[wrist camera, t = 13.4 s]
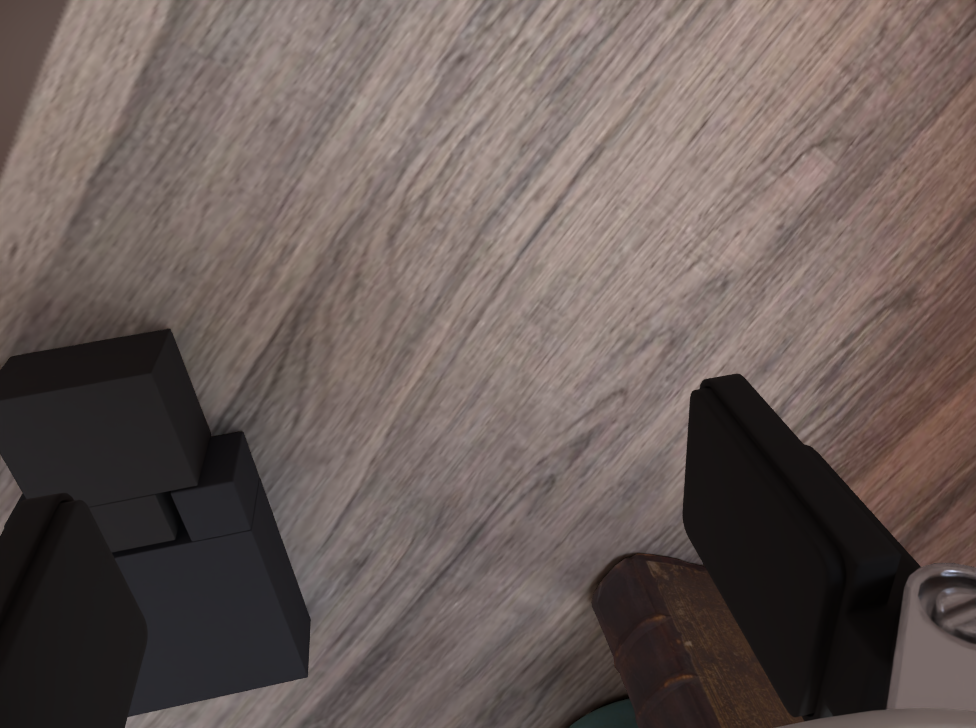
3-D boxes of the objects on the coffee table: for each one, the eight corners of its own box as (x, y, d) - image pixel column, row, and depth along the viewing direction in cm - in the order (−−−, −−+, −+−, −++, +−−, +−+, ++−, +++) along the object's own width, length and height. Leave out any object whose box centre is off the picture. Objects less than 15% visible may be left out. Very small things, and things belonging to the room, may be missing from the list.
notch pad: (35, 470, 36) (2, 526, 32) (243, 430, 37) (232, 481, 33) (138, 656, 43) (121, 718, 39) (310, 619, 44) (308, 677, 40)
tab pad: (10, 356, 33) (-29, 405, 29) (170, 328, 33) (150, 372, 30) (88, 505, 37) (62, 562, 34) (228, 478, 38) (217, 531, 34)
